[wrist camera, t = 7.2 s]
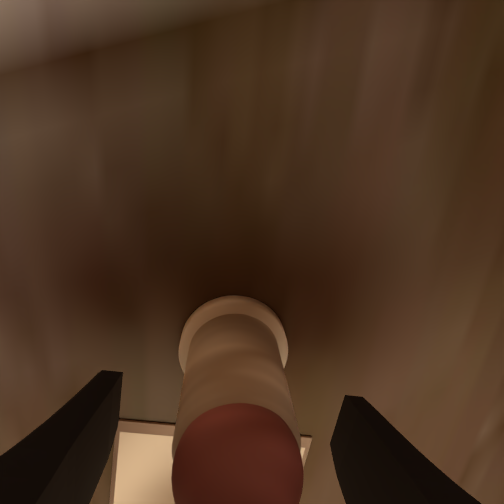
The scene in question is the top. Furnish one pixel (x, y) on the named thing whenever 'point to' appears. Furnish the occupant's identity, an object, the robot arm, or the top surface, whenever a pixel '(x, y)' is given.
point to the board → (149, 462)
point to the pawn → (235, 409)
